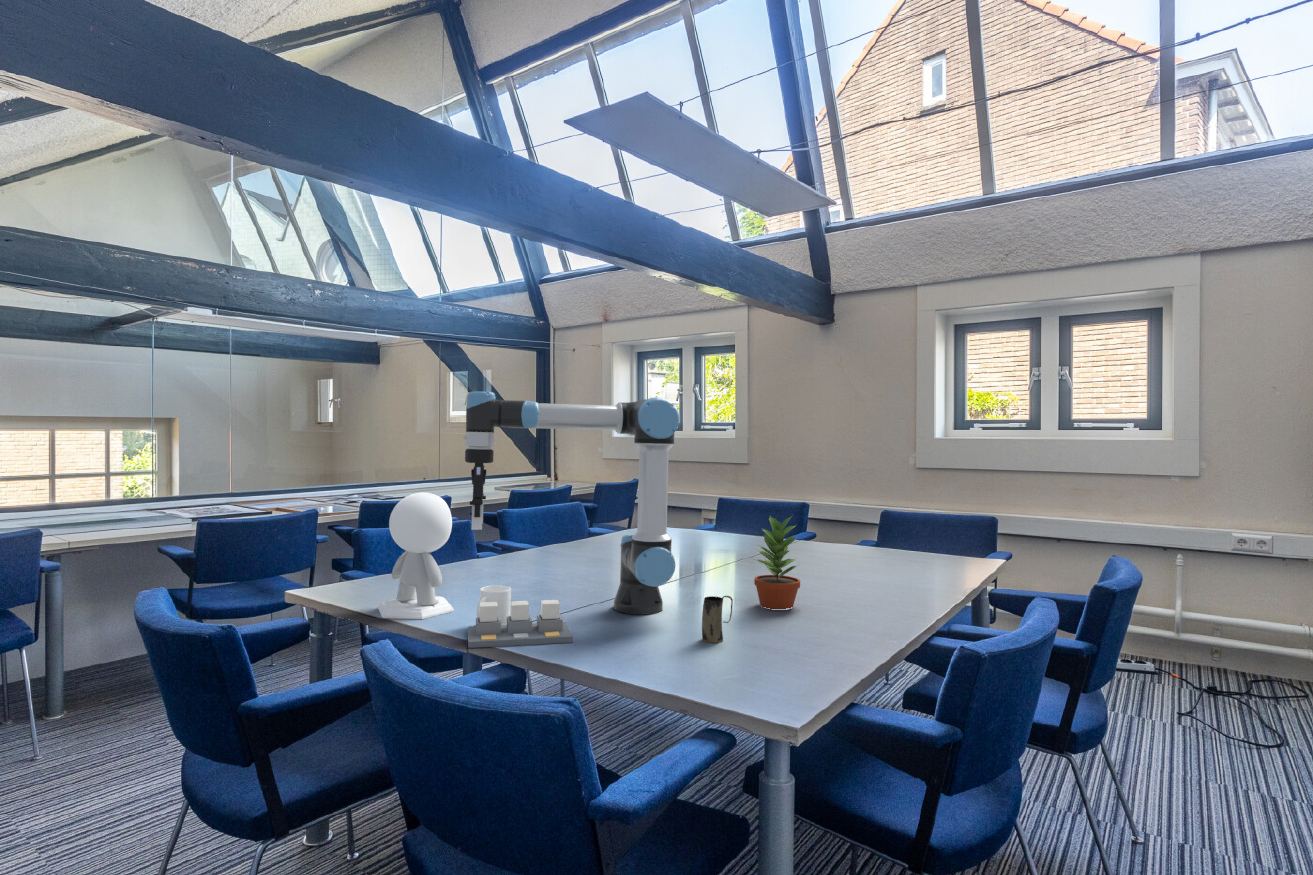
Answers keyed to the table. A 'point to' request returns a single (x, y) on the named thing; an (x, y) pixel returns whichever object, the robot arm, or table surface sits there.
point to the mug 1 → (497, 600)
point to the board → (518, 632)
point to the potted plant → (777, 569)
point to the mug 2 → (713, 619)
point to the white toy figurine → (418, 556)
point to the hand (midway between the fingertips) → (477, 526)
